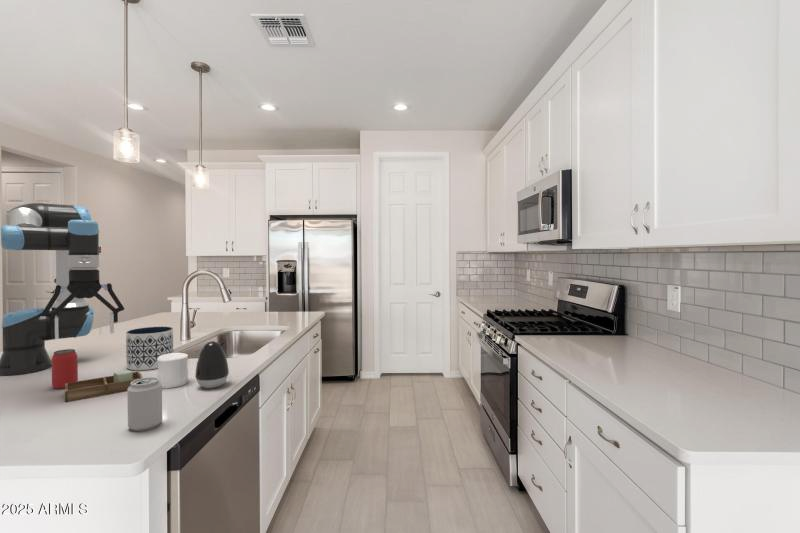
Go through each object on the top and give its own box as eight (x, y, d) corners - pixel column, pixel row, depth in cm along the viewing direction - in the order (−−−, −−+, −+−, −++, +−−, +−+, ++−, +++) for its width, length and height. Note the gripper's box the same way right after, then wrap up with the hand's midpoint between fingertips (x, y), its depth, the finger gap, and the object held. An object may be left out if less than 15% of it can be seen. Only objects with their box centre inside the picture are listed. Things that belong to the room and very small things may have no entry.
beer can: (62, 390, 126) (62, 353, 126) (46, 388, 127) (46, 352, 127) (83, 383, 133) (82, 349, 132) (67, 382, 134) (66, 348, 134)
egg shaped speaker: (235, 383, 133) (235, 339, 133) (209, 393, 124) (209, 346, 123) (215, 379, 137) (214, 337, 137) (188, 388, 128) (188, 343, 128)
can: (138, 420, 103) (138, 375, 103) (168, 419, 104) (167, 375, 103) (121, 433, 96) (120, 385, 95) (152, 432, 96) (152, 384, 96)
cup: (165, 390, 126) (165, 361, 125) (150, 385, 131) (149, 357, 131) (194, 382, 134) (193, 355, 134) (178, 378, 139) (178, 351, 139)
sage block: (113, 384, 129) (113, 372, 128) (127, 381, 132) (127, 370, 132) (118, 387, 126) (118, 374, 126) (132, 383, 130) (132, 372, 129)
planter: (148, 359, 164) (148, 326, 164) (182, 360, 162) (181, 327, 162) (116, 370, 149) (115, 333, 148) (153, 372, 146) (152, 334, 146)
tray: (65, 393, 123) (65, 383, 123) (139, 380, 136) (139, 371, 136) (65, 402, 116) (65, 391, 116) (143, 387, 129) (143, 378, 128)
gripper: (28, 270, 111) (30, 343, 111) (133, 268, 127) (134, 332, 128) (30, 269, 117) (32, 338, 117) (130, 268, 133) (131, 329, 133)
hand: (85, 335), depth 122 cm, fingers open, 13 cm apart
